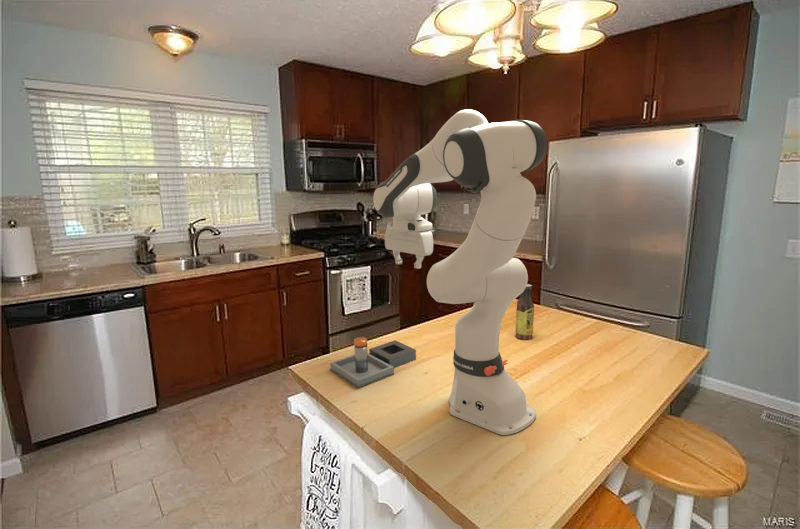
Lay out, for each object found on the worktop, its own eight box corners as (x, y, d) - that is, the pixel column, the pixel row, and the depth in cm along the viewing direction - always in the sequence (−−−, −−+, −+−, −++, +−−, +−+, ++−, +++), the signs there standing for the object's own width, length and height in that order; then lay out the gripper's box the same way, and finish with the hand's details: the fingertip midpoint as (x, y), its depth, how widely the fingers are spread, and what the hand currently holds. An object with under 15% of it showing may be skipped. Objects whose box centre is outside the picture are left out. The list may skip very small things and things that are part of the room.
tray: (394, 374, 125) (393, 367, 124) (358, 388, 117) (358, 380, 116) (364, 358, 137) (364, 351, 136) (330, 369, 129) (330, 362, 128)
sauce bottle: (529, 341, 147) (531, 288, 143) (512, 338, 151) (514, 286, 146) (535, 335, 152) (537, 284, 148) (519, 332, 156) (520, 282, 152)
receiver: (416, 359, 135) (415, 349, 134) (389, 369, 128) (389, 359, 127) (395, 349, 143) (395, 340, 142) (369, 358, 136) (369, 348, 136)
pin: (370, 370, 126) (369, 339, 124) (360, 374, 124) (358, 343, 122) (363, 365, 129) (362, 336, 127) (352, 369, 127) (351, 339, 125)
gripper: (379, 222, 135) (381, 263, 137) (420, 226, 119) (421, 272, 122) (394, 220, 139) (395, 260, 141) (436, 224, 123) (436, 269, 126)
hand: (408, 266), depth 131 cm, fingers open, 8 cm apart
